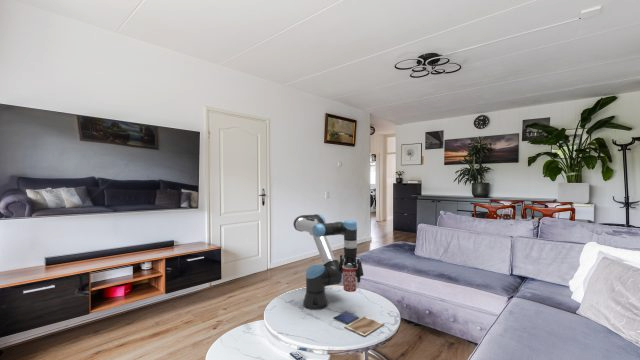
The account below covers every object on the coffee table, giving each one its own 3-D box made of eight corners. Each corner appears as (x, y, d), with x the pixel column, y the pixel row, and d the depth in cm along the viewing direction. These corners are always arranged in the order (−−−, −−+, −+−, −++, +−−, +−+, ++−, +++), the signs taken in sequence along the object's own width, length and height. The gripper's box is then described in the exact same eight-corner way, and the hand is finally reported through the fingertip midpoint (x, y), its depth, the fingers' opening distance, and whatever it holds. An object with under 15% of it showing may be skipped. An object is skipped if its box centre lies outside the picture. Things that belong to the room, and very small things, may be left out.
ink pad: (333, 318, 160) (333, 317, 160) (344, 313, 167) (344, 311, 167) (347, 325, 153) (347, 323, 153) (358, 318, 160) (358, 317, 160)
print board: (344, 328, 150) (344, 326, 150) (363, 317, 162) (363, 315, 162) (364, 337, 141) (364, 335, 141) (383, 325, 153) (383, 323, 153)
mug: (358, 292, 162) (358, 268, 162) (342, 292, 162) (342, 268, 162) (356, 284, 175) (356, 262, 175) (341, 284, 175) (341, 262, 175)
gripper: (331, 245, 173) (331, 283, 173) (362, 251, 158) (362, 292, 158) (339, 243, 179) (339, 279, 178) (369, 248, 164) (370, 288, 164)
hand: (350, 285), depth 168 cm, fingers closed on mug, 9 cm apart
